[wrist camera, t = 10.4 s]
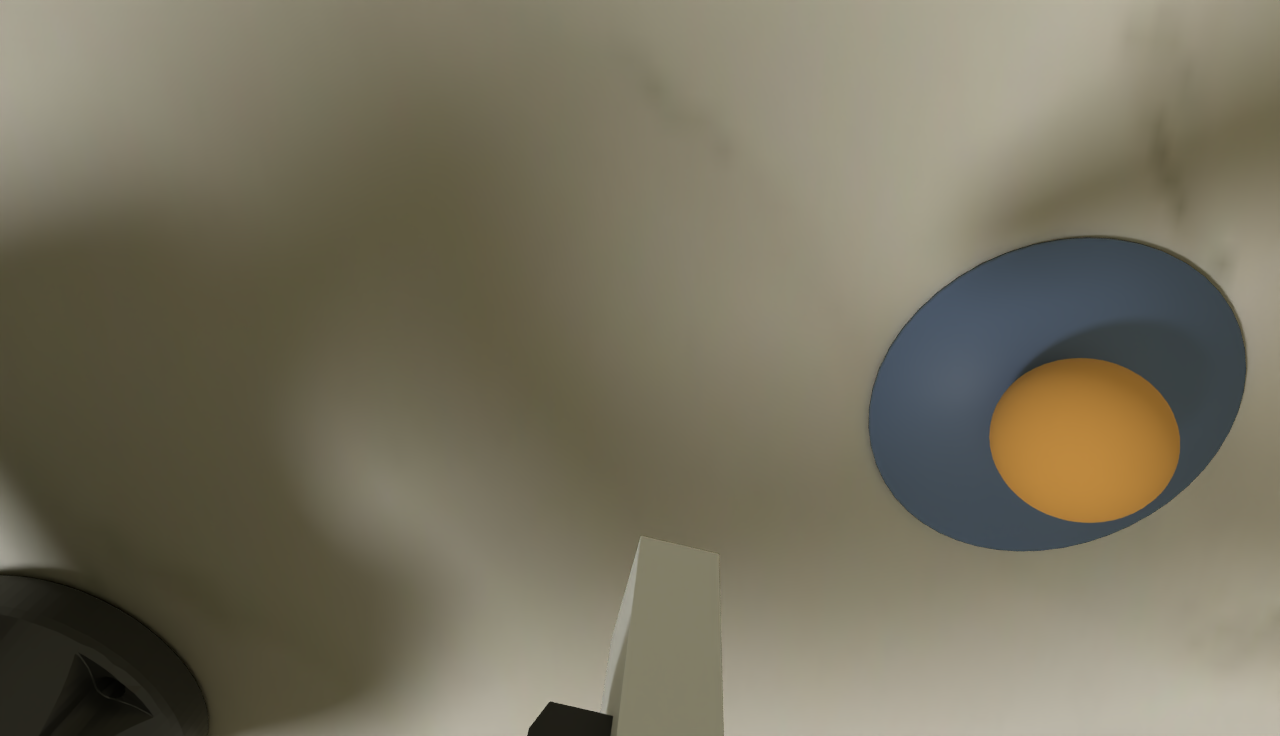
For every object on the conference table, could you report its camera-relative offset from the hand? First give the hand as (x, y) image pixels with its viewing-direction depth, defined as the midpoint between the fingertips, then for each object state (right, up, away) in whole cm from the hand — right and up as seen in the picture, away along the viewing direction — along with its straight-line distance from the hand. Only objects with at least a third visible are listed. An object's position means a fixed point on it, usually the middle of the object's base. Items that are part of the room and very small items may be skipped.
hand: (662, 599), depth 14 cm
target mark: (+15, +3, +13) cm, 20 cm away
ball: (+14, +2, +11) cm, 18 cm away
